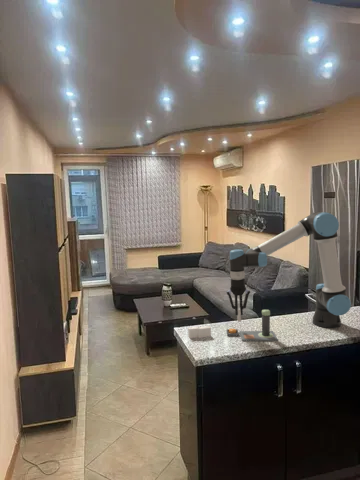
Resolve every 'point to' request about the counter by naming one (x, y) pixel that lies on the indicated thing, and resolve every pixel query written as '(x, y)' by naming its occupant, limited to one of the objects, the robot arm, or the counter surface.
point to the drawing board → (257, 336)
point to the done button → (232, 330)
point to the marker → (266, 322)
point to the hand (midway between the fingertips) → (239, 320)
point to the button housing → (232, 333)
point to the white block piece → (199, 332)
